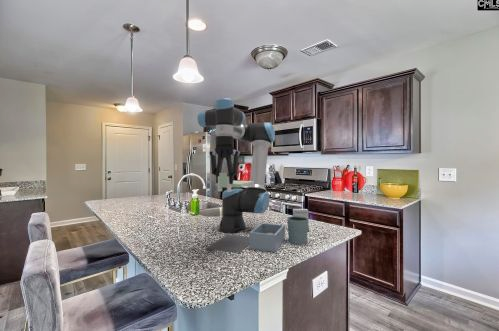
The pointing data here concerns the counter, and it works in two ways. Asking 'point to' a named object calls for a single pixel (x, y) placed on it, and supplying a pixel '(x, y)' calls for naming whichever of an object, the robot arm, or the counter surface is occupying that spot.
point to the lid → (235, 183)
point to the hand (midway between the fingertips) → (224, 191)
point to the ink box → (301, 213)
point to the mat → (230, 243)
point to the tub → (267, 237)
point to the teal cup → (297, 229)
